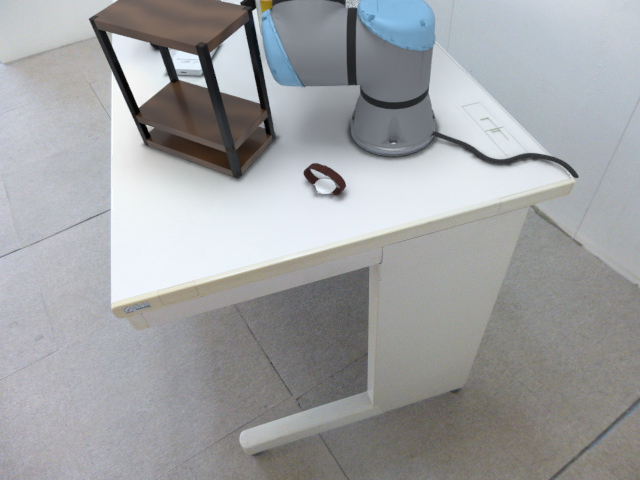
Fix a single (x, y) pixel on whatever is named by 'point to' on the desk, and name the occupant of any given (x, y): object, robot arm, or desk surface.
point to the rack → (185, 98)
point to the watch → (325, 184)
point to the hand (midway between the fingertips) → (257, 12)
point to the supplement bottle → (262, 9)
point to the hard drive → (188, 63)
